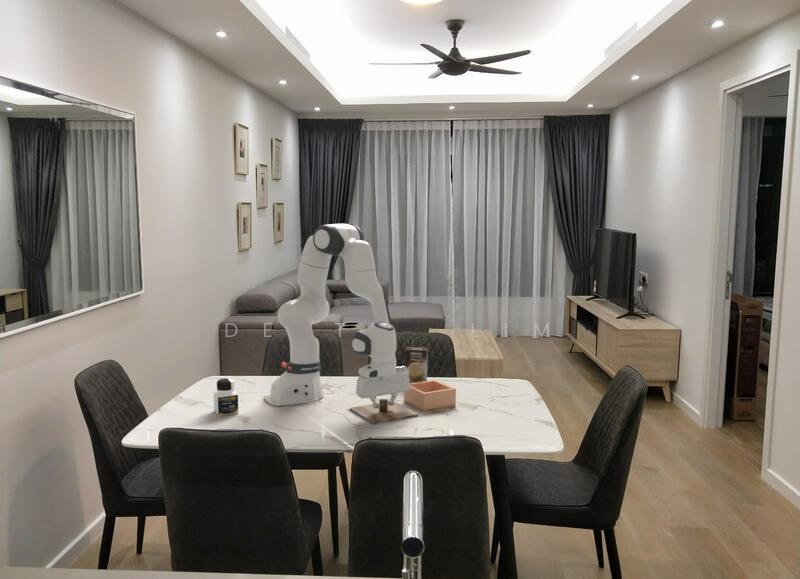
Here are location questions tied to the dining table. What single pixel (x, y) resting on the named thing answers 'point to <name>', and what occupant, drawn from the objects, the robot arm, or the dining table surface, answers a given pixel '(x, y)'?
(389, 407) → the walnut lid
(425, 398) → the terracotta open box
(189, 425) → the dining table surface
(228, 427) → the dining table surface
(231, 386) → the medicine bottle
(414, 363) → the coffee box
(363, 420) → the slate mat
